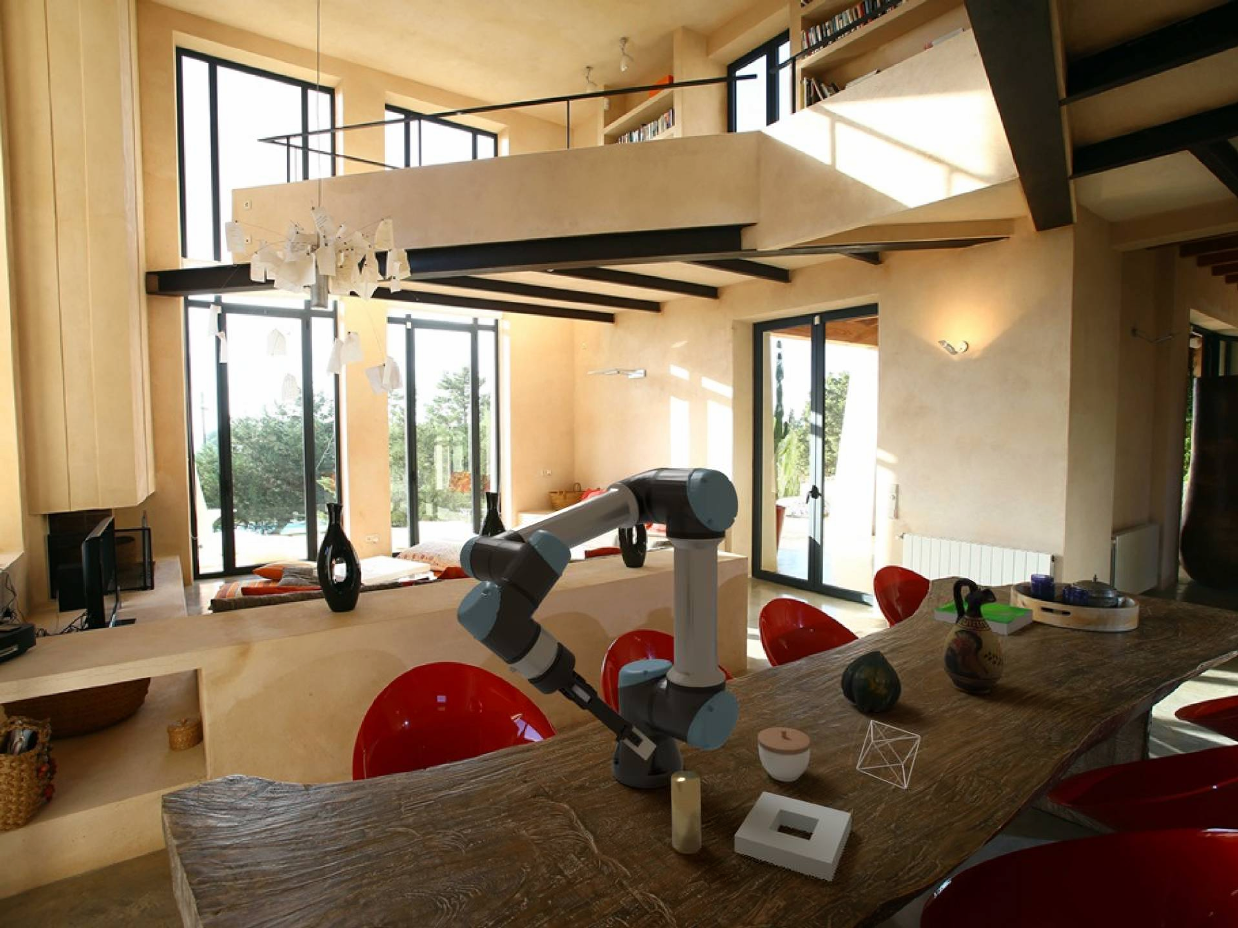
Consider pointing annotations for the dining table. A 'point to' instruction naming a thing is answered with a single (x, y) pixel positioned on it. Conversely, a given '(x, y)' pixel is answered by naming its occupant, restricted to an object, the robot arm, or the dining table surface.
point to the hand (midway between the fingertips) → (630, 735)
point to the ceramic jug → (972, 643)
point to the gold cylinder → (686, 811)
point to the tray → (991, 616)
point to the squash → (871, 682)
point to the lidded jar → (784, 752)
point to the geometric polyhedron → (893, 751)
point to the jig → (792, 851)
